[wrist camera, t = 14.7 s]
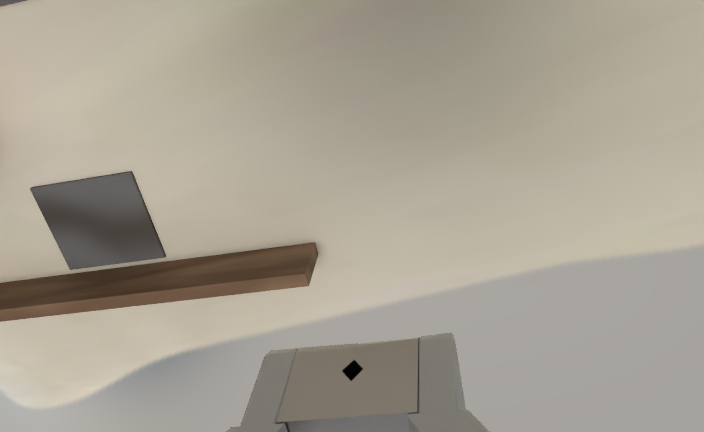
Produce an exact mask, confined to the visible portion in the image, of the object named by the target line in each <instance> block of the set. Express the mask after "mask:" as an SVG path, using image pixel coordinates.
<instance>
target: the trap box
mask: <svg viewBox="0 0 704 432" xmlns="http://www.w3.org/2000/svg"><path fill="white" fill-rule="evenodd" d="M21 1H26V0H0V6H4V5H8V4H13V3H17V2H21ZM30 190H31V192H32V194H33V196H34V198H35V200H36V202H37V204H38V206H39V208H40V210H41V212H42V214H43V216H44V218H45V220H46V222H47V224H48V226H49V228H50V230H51V232H52V234H53V236H54V238H55V240H56V242H57V244H58V246H59V248H60V250H61V252H62V254H63V256H64V258H65V260H66V262H67V265H68V267H69V269H70V270H73V269H80V268H88V267H95V266H103V265H111V264H118V263H126V262H134V261H141V260H149V259H157V258H164V257H166V255H165V253H164V250H163V248H162V245H161V243H160V240H159V238H158V235H157V233H156V230H155V228H154V225H153V223H152V220H151V218H150V215H149V213H148V210H147V208H146V206H145V203H144V201H143V198H142V196H141V193H140V191H139V188H138V186H137V183H136V181H135V178H134V176H133V173H132V171H131V172H124V173H118V174H112V175H106V176H100V177H94V178H87V179H81V180H75V181H69V182H63V183H57V184H50V185H44V186H38V187H32V188H30ZM317 257H318V252H317V248H316V245H315V243H309V244H301V245H293V246H285V247H278V248H270V249H262V250H254V251H247V252H239V253H231V254H223V255H216V256H208V257H200V258H192V259H185V260H177V261H169V262H161V263H154V264H146V265H138V266H130V267H123V268H115V269H107V270H99V271H92V272H84V273H76V274H68V275H61V276H53V277H45V278H37V279H30V280H22V281H14V282H6V283H0V321H9V320H18V319H26V318H35V317H44V316H52V315H61V314H70V313H78V312H87V311H96V310H104V309H113V308H122V307H130V306H139V305H148V304H157V303H165V302H174V301H183V300H191V299H200V298H209V297H217V296H226V295H235V294H243V293H252V292H261V291H269V290H278V289H287V288H295V287H304V286H309V284H310V280H311V277H312V274H313V270H314V267H315V263H316V260H317Z"/></svg>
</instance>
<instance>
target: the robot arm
mask: <svg viewBox="0 0 704 432" xmlns="http://www.w3.org/2000/svg"><path fill="white" fill-rule="evenodd" d="M226 432H489V431H488V430H487V428H485V427H484V425H482V423H481V422H480V421H479V420H478V419H477V418H476V417H475V416H474V415H473V414H472V413H471V412H470V411H468V410H466V408H465V402H464V394H463V388H462V382H461V375H460V369H459V363H458V357H457V351H456V344H455V339H454V335H453V334H452V333H444V334H436V335H429V336H421V337H419V338H410V339H400V340H390V341H380V342H371V343H361V344H358V343H357V344H344V345H331V346H317V347H304V348H299V349H297V348H295V349H283V350H271V351H270V352H269V353H267V354H266V356H265V357H264V360H263V363H262V366H261V369H260V371H259V374H258V377H257V380H256V383H255V386H254V389H253V391H252V394H251V397H250V400H249V403H248V405H247V408H246V411H245V414H244V417H243V420H242V423H241V426H240V427H231V428H230V429H229V430H228V431H226Z"/></svg>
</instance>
